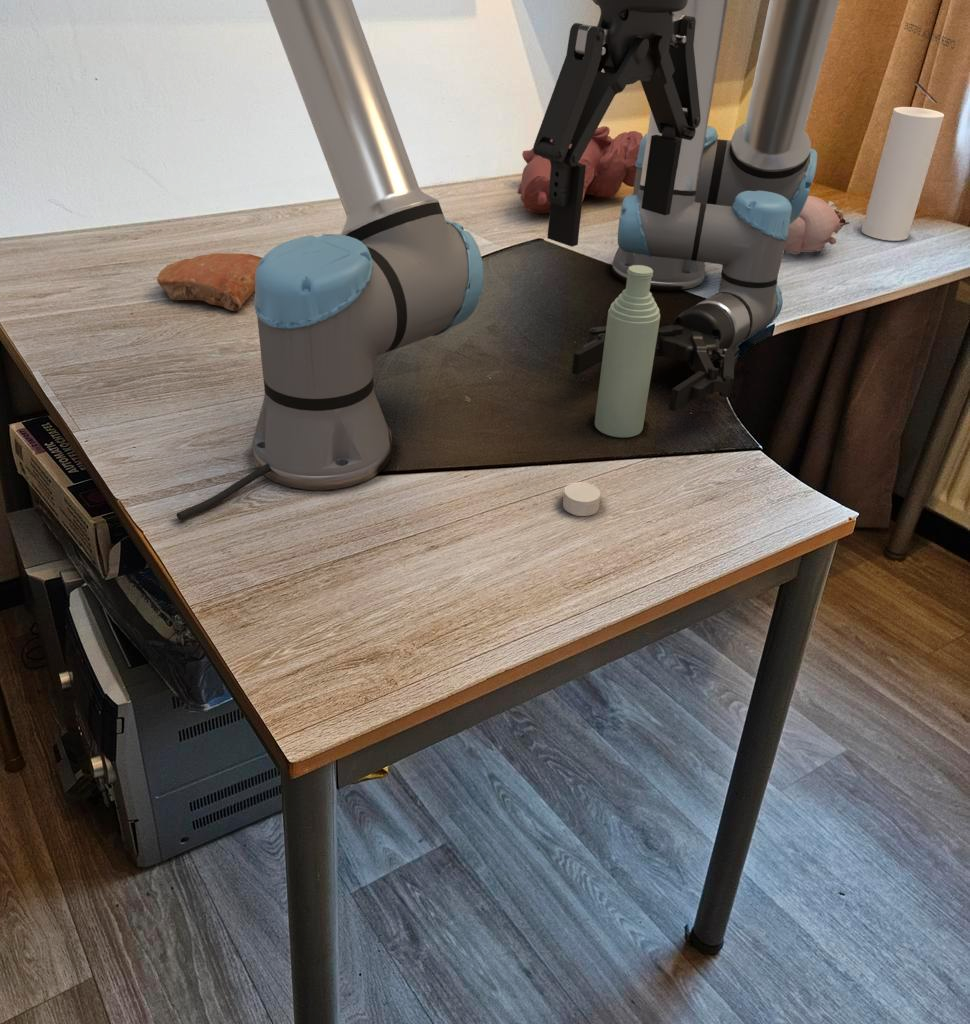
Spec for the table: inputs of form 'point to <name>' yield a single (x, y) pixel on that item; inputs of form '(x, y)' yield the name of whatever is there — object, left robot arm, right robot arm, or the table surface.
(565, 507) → the cap
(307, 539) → the table surface
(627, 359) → the bottle
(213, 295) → the ceramic shard
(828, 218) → the toy
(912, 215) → the tall white cylinder
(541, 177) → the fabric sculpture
